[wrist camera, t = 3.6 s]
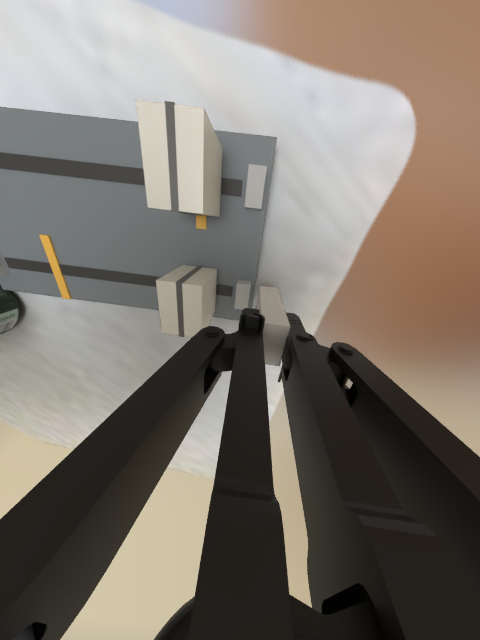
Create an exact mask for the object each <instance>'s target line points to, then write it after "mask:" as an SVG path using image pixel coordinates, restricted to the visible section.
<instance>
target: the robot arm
mask: <svg viewBox="0 0 480 640" xmlns="http://www.w3.org/2000/svg"><path fill="white" fill-rule="evenodd" d="M281 359H282V363H283V365H282V368H281V372H280V375H279V379H278V382H280V380H281V378H282V382H283V388H284V394H285V400H286V407H287V413H288V419H289V425H290V431H291V437H292V443H293V448H294V455H295V461H296V467H297V474H298V480H299V486H300V492H301V498H302V504H303V510H304V516H305V522H306V528H307V535H308V558H307V571H308V581H309V589H310V596H311V603H312V608H311V607H309V606H308V605H306V604H304V603H303V602H301V601H299V600H298V599H296V598H294V597H293V596H291V595H289V587H288V576H287V565H286V555H285V543H284V532H283V523H282V515H281V511H280V506H279V502H278V501H277V499H276V497H275V494H274V488H273V475H272V460H271V446H270V431H269V416H268V401H267V387H266V372H265V364H269V365H276V366H280V363H281ZM231 370H232V374H231V380H230V386H229V393H228V399H227V405H226V412H225V418H224V424H223V430H222V437H221V443H220V449H219V456H218V462H217V468H216V475H215V481H214V486H213V491H212V495H211V501H210V507H209V512H208V519H207V524H206V530H205V537H204V543H203V549H202V555H201V561H200V568H199V574H198V580H197V587H196V592H195V596H194V597H193V598H192V599H191V600H189V601H188V602H187V603H185V604H184V605H183V606H182V607H181V608H180V609H179V610H178V611H177V612H176V613H175V614H174V615H173V616H172V617H171V618H170V620H169V621H168V622H167V623H166V624H165V626H164V627H163V628H162V630H161V631H160V632H159V633H158V635H157V636H156V637H155V639H154V640H480V457H479V456H478V455H477V454H475V453H474V452H473V451H472V450H471V449H470V448H469V447H467V446H466V445H465V444H464V443H463V442H462V441H461V440H460V439H458V438H457V437H456V436H455V435H454V434H453V433H452V432H450V431H449V430H448V429H447V428H446V427H445V426H443V425H442V424H441V423H440V422H439V421H438V420H437V419H436V418H434V417H433V416H432V415H431V414H430V413H429V412H428V411H426V410H425V409H424V408H423V407H422V406H421V405H419V404H418V403H417V402H416V401H415V400H414V399H413V398H411V397H410V396H409V395H408V394H407V393H406V392H405V391H404V390H402V389H401V388H400V387H399V386H398V385H397V384H396V383H394V382H393V381H392V380H391V379H390V378H389V377H388V376H386V375H385V374H384V373H383V372H382V371H381V370H380V369H378V368H377V367H376V366H375V365H374V364H373V363H372V362H371V361H369V360H368V359H367V358H366V357H365V356H364V355H363V354H361V353H360V352H359V351H358V350H357V349H355V348H354V347H352V346H350V345H349V344H345V343H340V342H336V343H333V344H332V346H331V348H328V347H325V346H321V345H319V344H318V343H317V341H316V339H315V338H314V336H312V335H311V334H309V333H307V332H306V331H305V329H304V327H303V325H302V323H301V320H300V318H299V317H298V316H297V315H296V314H294V313H286V312H285V309H284V306H283V303H282V300H281V297H280V294H279V291H278V288H275V287H267V286H260V287H259V293H258V300H257V306H256V309H251V308H244V309H243V310H242V313H241V315H240V322H239V330H238V331H236V332H235V333H231V334H225V333H224V331H223V330H222V329H221V328H218V327H214V326H209V327H205V328H203V329H201V330H200V331H199V332H198V333H197V334H195V335H194V336H193V337H192V338H191V339H190V340H189V341H188V342H187V343H186V344H185V345H184V346H183V347H182V348H181V349H180V350H179V351H178V352H176V353H175V354H174V355H173V356H172V357H171V358H170V359H169V360H168V361H167V362H166V363H165V364H164V365H163V366H162V367H161V368H160V369H159V370H157V371H156V372H155V373H154V374H153V375H152V376H151V377H150V378H149V379H148V380H147V381H146V382H145V383H144V384H143V385H142V386H141V387H140V388H138V389H137V390H136V391H135V392H134V393H133V394H132V395H131V396H130V397H129V398H128V399H127V400H126V401H125V402H124V403H123V404H122V405H121V406H119V407H118V408H117V409H116V410H115V411H114V412H113V413H112V414H111V415H110V416H109V417H108V418H107V419H106V420H105V421H104V422H103V423H102V424H100V425H99V426H98V427H97V428H96V429H95V430H94V431H93V432H92V433H91V434H90V435H89V436H88V437H87V438H86V439H85V440H84V441H83V442H81V443H80V444H79V445H78V446H77V447H76V448H75V449H74V450H73V451H72V452H71V453H70V454H69V455H68V456H67V457H66V458H65V459H64V460H62V462H60V463H59V464H58V465H57V466H56V467H55V468H54V469H53V470H52V471H51V472H50V473H49V474H48V475H47V476H46V477H45V478H43V479H42V480H41V481H40V482H39V483H38V484H37V485H36V486H35V487H34V488H33V489H32V490H31V491H30V492H29V493H28V494H27V495H26V496H25V497H23V498H22V499H21V500H20V501H19V502H18V503H17V504H16V505H15V506H14V507H13V508H12V509H11V510H10V511H9V512H8V513H7V514H6V515H4V516H3V517H2V518H1V519H0V640H60V639H61V638H62V636H63V635H64V633H65V632H66V631H67V629H68V628H69V626H70V625H71V623H72V622H73V621H74V619H75V618H76V616H77V615H78V614H79V612H80V611H81V609H82V608H83V607H84V605H85V604H86V602H87V601H88V599H89V597H90V596H91V594H92V593H93V591H94V589H95V588H96V586H97V585H98V583H99V581H100V580H101V578H102V577H103V575H104V573H105V572H106V570H107V568H108V567H109V565H110V564H111V562H112V560H113V558H114V557H115V555H116V553H117V552H118V550H119V548H120V547H121V545H122V543H123V541H124V540H125V538H126V536H127V535H128V533H129V531H130V529H131V528H132V526H133V524H134V522H135V521H136V519H137V518H138V516H139V514H140V512H141V511H142V509H143V507H144V505H145V504H146V502H147V500H148V499H149V497H150V495H151V494H152V492H153V490H154V488H155V487H156V485H157V483H158V482H159V480H160V478H161V476H162V475H163V473H164V471H165V470H166V468H167V466H168V465H169V463H170V461H171V460H172V458H173V456H174V454H175V453H176V451H177V449H178V448H179V446H180V444H181V442H182V441H183V439H184V437H185V436H186V434H187V432H188V430H189V429H190V427H191V425H192V424H193V422H194V420H195V419H196V417H197V415H198V413H199V412H200V410H201V408H202V407H203V405H204V403H205V401H206V400H207V398H208V396H209V395H210V393H211V391H212V390H213V388H214V386H215V384H216V383H217V381H218V379H219V378H220V376H221V373H222V372H223V371H231ZM348 378H349V379H350V380H351V381H352V382H353V384H352V386H351V388H350V389H349V388H348V387H347V386H346V385H345V384H346V382H347V380H348Z"/></svg>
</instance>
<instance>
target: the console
mask: <svg viewBox="0 0 480 640" xmlns="http://www.w3.org/2000/svg"><path fill="white" fill-rule="evenodd" d="M214 131H215V133H216V136H217V138H218V140H219V142H220V144H221V147H222V149H223V152H222V174H221V195H220V217H216V216H208V215H203V216H200V215H193V214H186V213H179V212H172V211H169V210H162V209H155V208H149V207H148V205H147V197H146V188H145V179H144V170H143V161H142V152H141V143H140V134H139V125H138V122H134V121H125V120H116V119H107V118H98V117H88V116H79V115H70V114H61V113H52V112H43V111H34V110H25V109H16V108H7V107H0V285H1V287H2V289H3V290H10V291H18V292H25V293H33V294H41V295H48V296H56V297H62V298H65V299H79V300H86V301H94V302H102V303H109V304H117V305H125V306H132V307H140V308H147V309H155V310H159V304H158V295H157V286H156V280H157V279H159V278H161V277H162V276H164V275H166V274H168V273H170V272H171V271H173V270H175V269H177V268H178V267H180V266H182V265H189V266H202V267H205V268H213V269H217V281H216V303H215V312H214V314H213V316H212V317H216V318H224V319H231V320H239V321H240V315H241V313H242V310H243V309H244V308H252V302H253V295H254V288H255V281H256V275H257V268H258V261H259V255H260V248H261V241H262V234H263V228H264V221H265V214H266V207H267V201H268V194H269V187H270V180H271V174H272V167H273V160H274V153H275V147H276V140H277V137H270V136H261V135H252V134H243V133H234V132H225V131H216V130H214Z"/></svg>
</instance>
